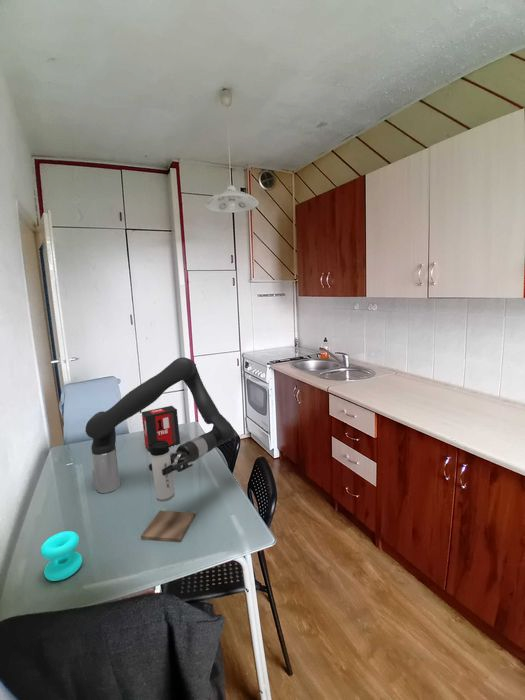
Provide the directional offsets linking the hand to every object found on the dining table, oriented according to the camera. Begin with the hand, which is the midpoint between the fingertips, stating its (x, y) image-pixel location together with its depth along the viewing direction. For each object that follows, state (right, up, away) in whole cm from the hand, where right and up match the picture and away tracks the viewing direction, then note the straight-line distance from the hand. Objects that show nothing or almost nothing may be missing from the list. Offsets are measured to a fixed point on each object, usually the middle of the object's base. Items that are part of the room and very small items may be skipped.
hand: (156, 470), depth 117 cm
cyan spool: (-24, -26, -11) cm, 38 cm away
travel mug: (+2, -11, +4) cm, 11 cm away
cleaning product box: (-19, -12, +74) cm, 77 cm away
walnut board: (+3, -22, +6) cm, 23 cm away
